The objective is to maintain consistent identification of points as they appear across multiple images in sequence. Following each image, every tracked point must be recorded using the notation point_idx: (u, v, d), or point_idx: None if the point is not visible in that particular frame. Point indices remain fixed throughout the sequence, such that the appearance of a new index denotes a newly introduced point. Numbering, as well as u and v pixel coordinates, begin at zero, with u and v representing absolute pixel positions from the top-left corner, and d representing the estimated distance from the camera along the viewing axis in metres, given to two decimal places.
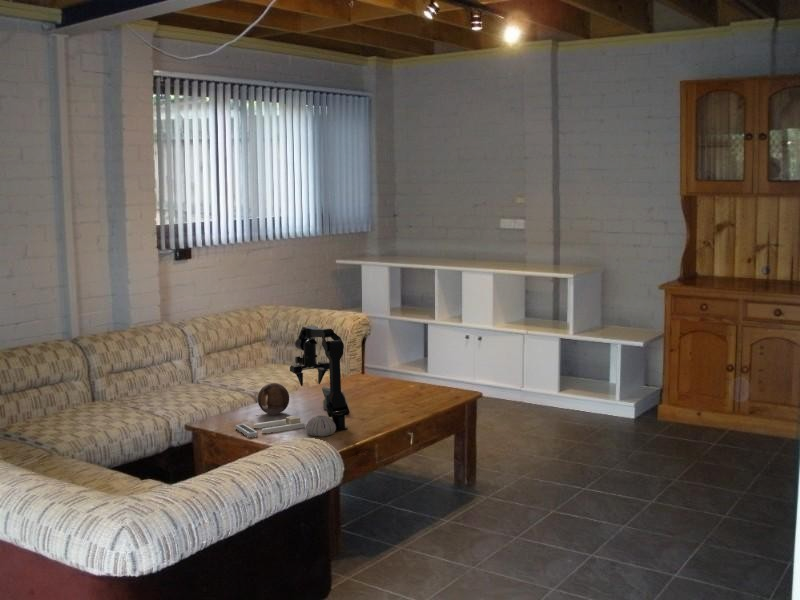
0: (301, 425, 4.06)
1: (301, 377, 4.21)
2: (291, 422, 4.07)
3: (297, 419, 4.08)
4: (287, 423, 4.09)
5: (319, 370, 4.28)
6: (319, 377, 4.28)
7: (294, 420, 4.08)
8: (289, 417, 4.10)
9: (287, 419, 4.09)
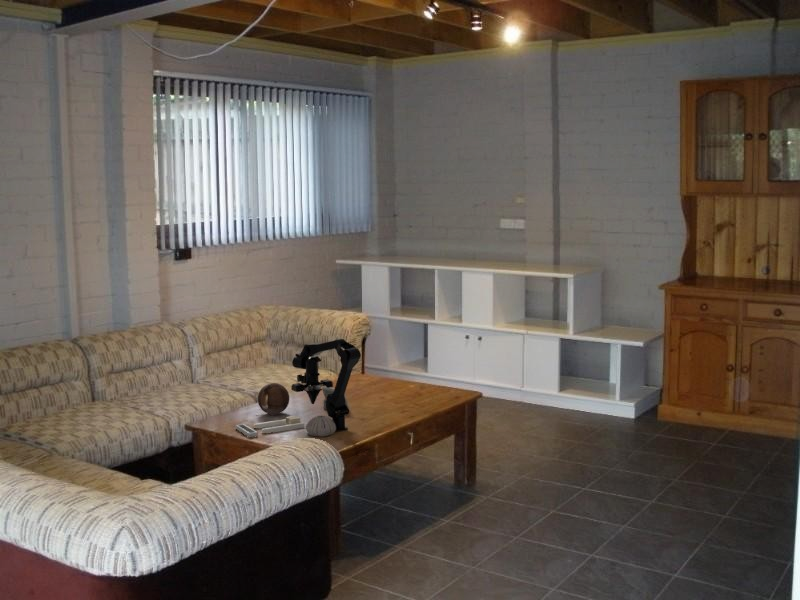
0: (301, 425, 4.06)
1: (312, 395, 4.11)
2: (291, 422, 4.07)
3: (297, 419, 4.08)
4: (287, 423, 4.09)
5: (313, 390, 4.14)
6: None
7: (294, 420, 4.08)
8: (289, 417, 4.10)
9: (287, 419, 4.09)
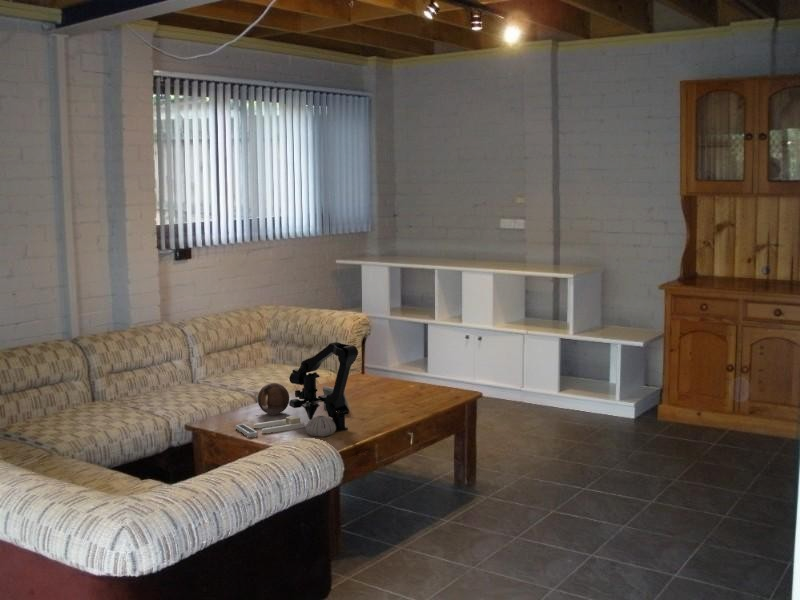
0: (301, 425, 4.06)
1: (309, 411, 4.12)
2: (291, 422, 4.07)
3: (297, 419, 4.08)
4: (287, 423, 4.09)
5: (311, 406, 4.14)
6: None
7: (294, 420, 4.08)
8: (289, 417, 4.10)
9: (287, 419, 4.09)
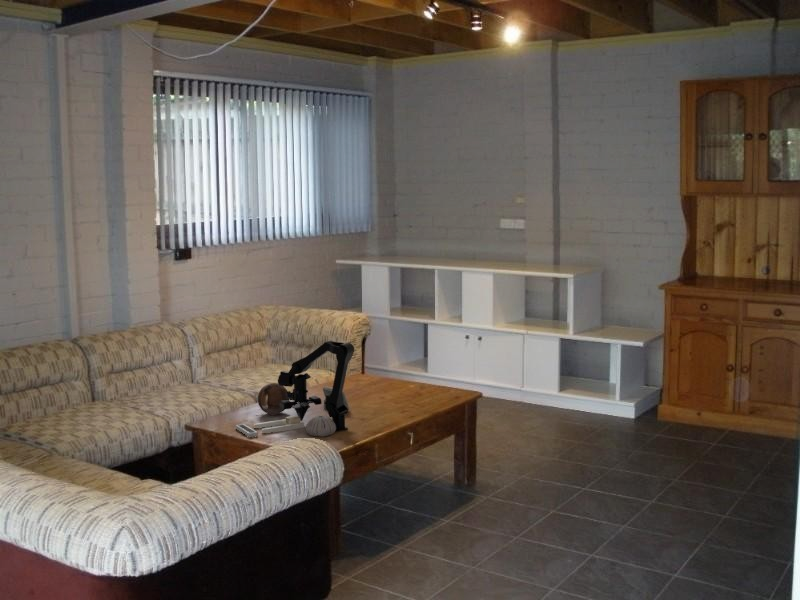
0: (301, 425, 4.06)
1: (300, 412, 4.09)
2: (291, 422, 4.07)
3: (297, 419, 4.08)
4: (287, 423, 4.09)
5: (302, 407, 4.12)
6: None
7: (294, 420, 4.08)
8: (289, 417, 4.10)
9: (287, 419, 4.09)
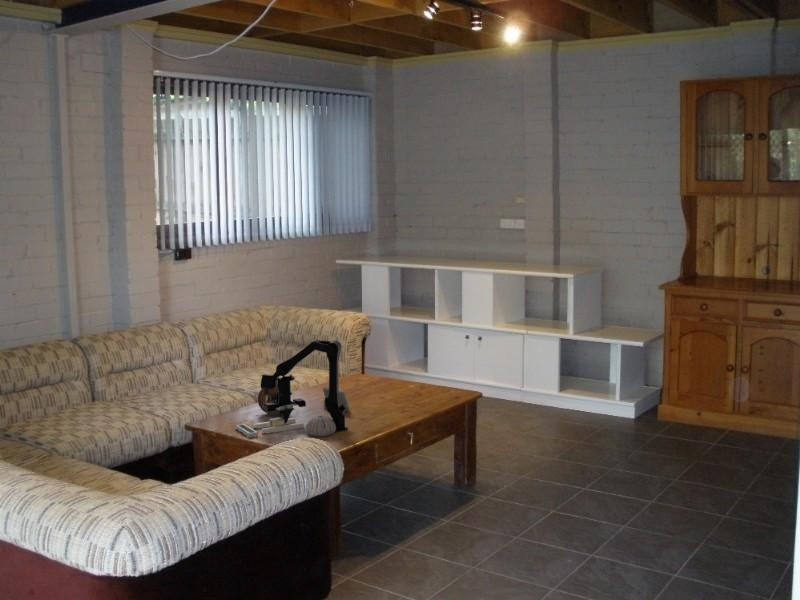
0: (301, 425, 4.06)
1: (284, 414, 4.05)
2: (275, 424, 4.03)
3: (281, 421, 4.04)
4: (271, 425, 4.05)
5: (286, 409, 4.08)
6: None
7: (278, 422, 4.04)
8: (273, 419, 4.06)
9: (271, 421, 4.05)
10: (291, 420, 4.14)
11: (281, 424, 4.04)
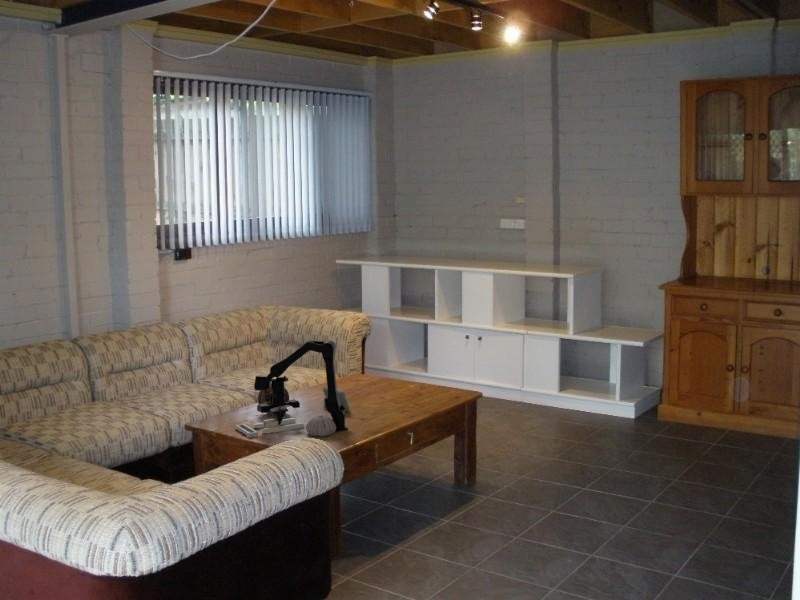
0: (301, 425, 4.06)
1: (278, 415, 4.04)
2: (268, 425, 4.01)
3: (275, 422, 4.03)
4: (265, 426, 4.04)
5: (279, 410, 4.06)
6: None
7: (272, 423, 4.02)
8: (267, 420, 4.04)
9: (264, 422, 4.03)
10: (291, 420, 4.14)
11: (275, 425, 4.03)
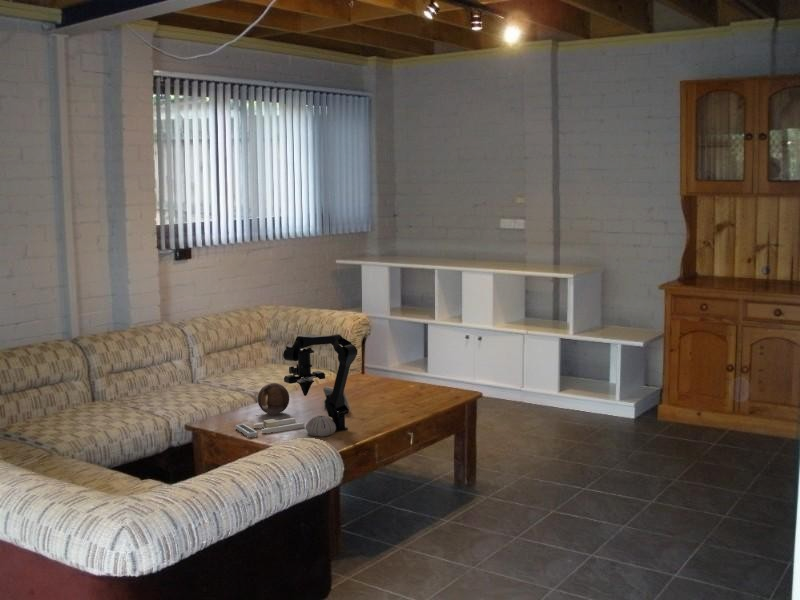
0: (301, 425, 4.06)
1: (304, 386, 4.10)
2: (268, 426, 4.01)
3: (275, 423, 4.03)
4: (265, 427, 4.04)
5: (306, 382, 4.13)
6: None
7: (272, 424, 4.02)
8: (267, 421, 4.04)
9: (264, 423, 4.03)
10: (291, 420, 4.14)
11: (275, 425, 4.03)
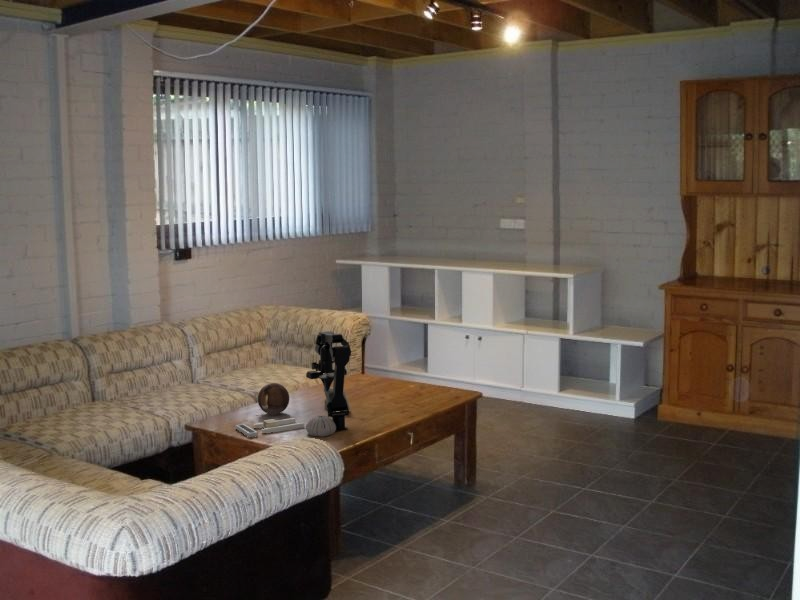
0: (301, 425, 4.06)
1: (326, 382, 4.18)
2: (268, 426, 4.01)
3: (275, 423, 4.03)
4: (265, 427, 4.04)
5: (328, 377, 4.21)
6: None
7: (272, 424, 4.02)
8: (267, 421, 4.04)
9: (265, 423, 4.03)
10: (291, 420, 4.14)
11: (275, 425, 4.03)
